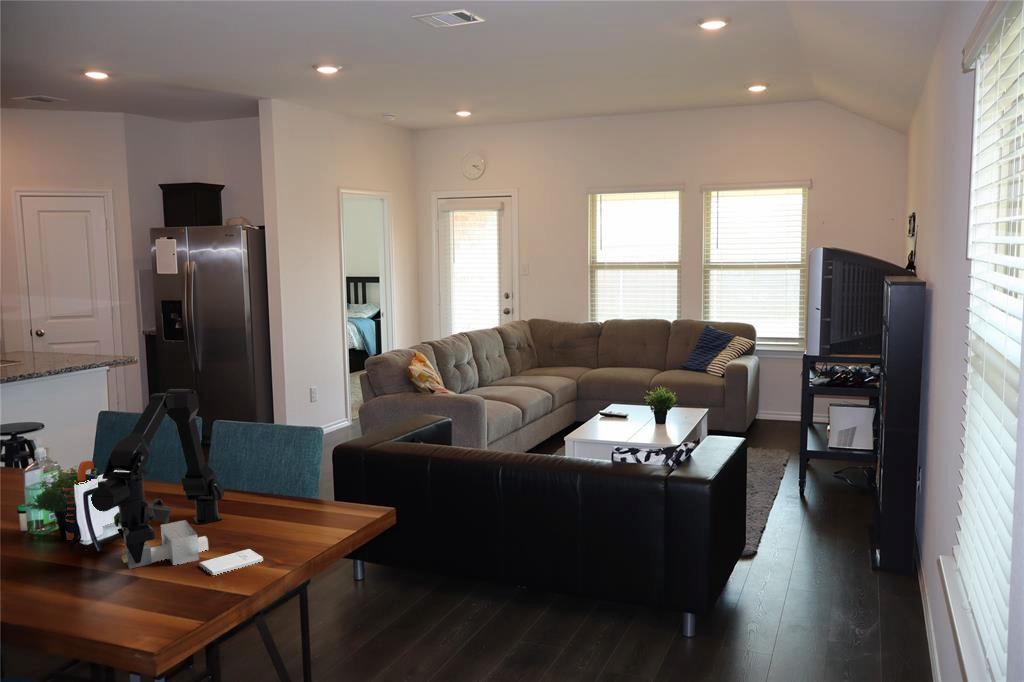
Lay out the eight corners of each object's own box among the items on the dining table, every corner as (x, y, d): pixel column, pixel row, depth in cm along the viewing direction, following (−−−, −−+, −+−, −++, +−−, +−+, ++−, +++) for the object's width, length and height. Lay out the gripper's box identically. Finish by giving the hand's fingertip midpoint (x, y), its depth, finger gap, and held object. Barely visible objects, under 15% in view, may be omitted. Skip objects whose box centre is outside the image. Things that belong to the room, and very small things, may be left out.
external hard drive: (199, 568, 195) (249, 553, 203) (213, 578, 188) (263, 563, 197) (199, 561, 194) (248, 547, 203) (212, 571, 188) (263, 556, 196)
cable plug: (205, 546, 207) (204, 531, 207) (209, 551, 204) (208, 535, 204) (122, 564, 197) (120, 548, 196) (124, 569, 193) (123, 553, 193)
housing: (162, 549, 206) (160, 525, 205) (187, 544, 209) (185, 520, 208) (173, 565, 195) (171, 539, 194) (199, 559, 199) (197, 534, 198)
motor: (57, 538, 216) (50, 465, 214) (88, 527, 224) (81, 457, 222) (81, 543, 212) (74, 469, 209) (112, 532, 219) (105, 460, 217)
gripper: (175, 500, 191) (180, 564, 193) (159, 482, 207) (163, 541, 209) (123, 510, 185) (129, 575, 187) (111, 491, 201) (116, 551, 202)
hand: (136, 560), depth 196 cm, fingers closed on cable plug, 4 cm apart
